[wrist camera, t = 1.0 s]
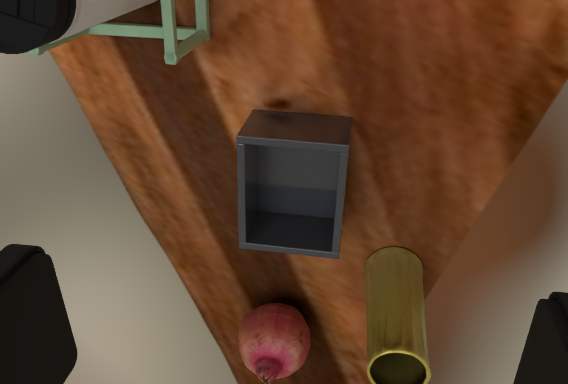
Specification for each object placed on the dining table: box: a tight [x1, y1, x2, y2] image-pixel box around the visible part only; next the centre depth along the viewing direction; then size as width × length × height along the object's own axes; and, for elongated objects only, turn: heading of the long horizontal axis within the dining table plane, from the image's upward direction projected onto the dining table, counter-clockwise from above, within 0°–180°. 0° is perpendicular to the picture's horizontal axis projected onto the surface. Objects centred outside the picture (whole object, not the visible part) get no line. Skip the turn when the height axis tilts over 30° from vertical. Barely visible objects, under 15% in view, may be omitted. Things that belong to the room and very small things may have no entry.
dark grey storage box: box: [236, 110, 352, 259], centre depth 48 cm, size 11×9×7 cm
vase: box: [364, 247, 431, 384], centre depth 49 cm, size 6×6×14 cm
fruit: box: [238, 303, 311, 384], centre depth 56 cm, size 8×8×10 cm
